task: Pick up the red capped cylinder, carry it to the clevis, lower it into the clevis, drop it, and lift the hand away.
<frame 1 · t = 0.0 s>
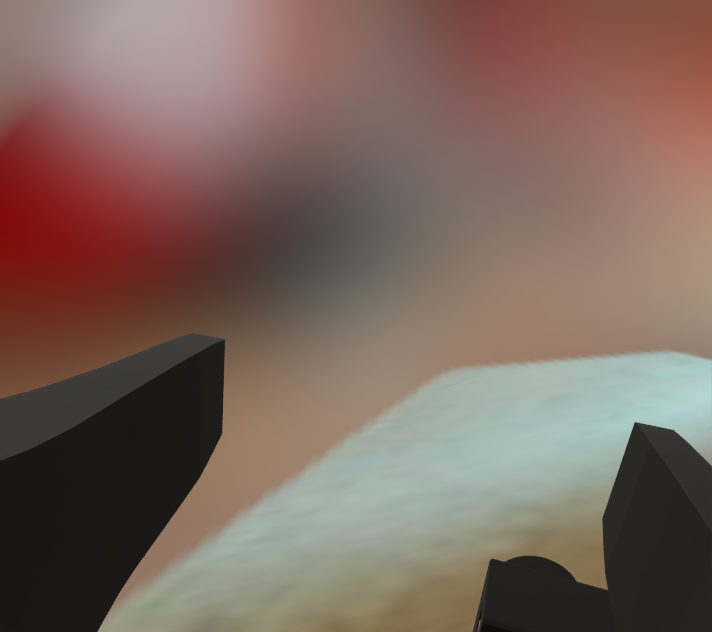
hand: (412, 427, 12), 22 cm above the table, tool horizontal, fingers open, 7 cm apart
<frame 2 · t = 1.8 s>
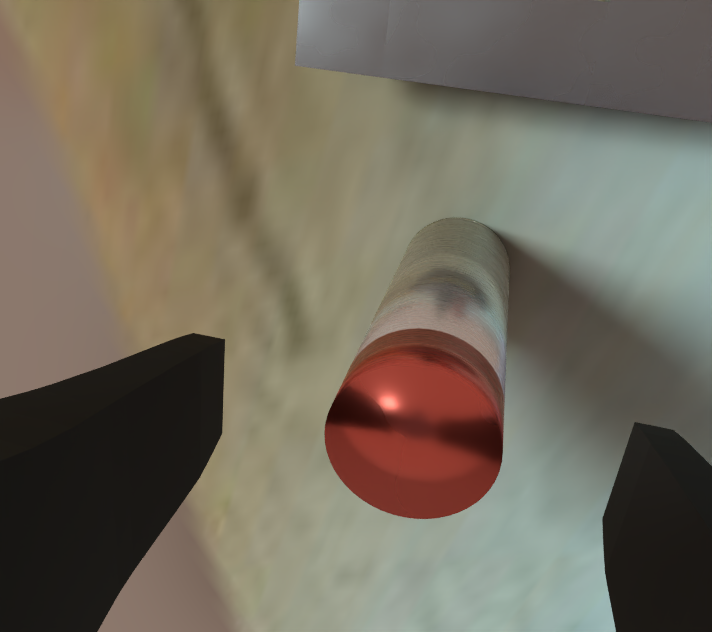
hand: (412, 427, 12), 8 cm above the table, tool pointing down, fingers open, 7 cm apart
red capped cylinder: (455, 268, 19), on the table
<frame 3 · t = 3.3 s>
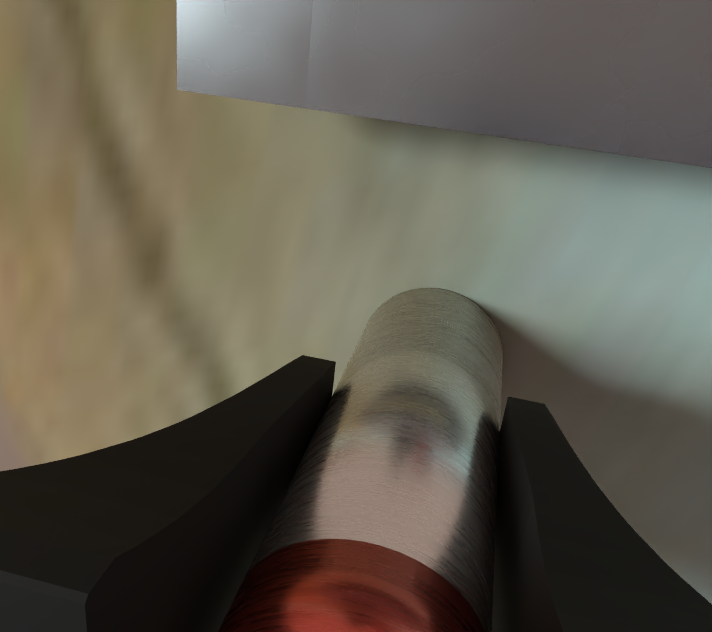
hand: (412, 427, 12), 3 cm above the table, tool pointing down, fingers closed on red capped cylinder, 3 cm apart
red capped cylinder: (431, 353, 15), on the table, touching gripper
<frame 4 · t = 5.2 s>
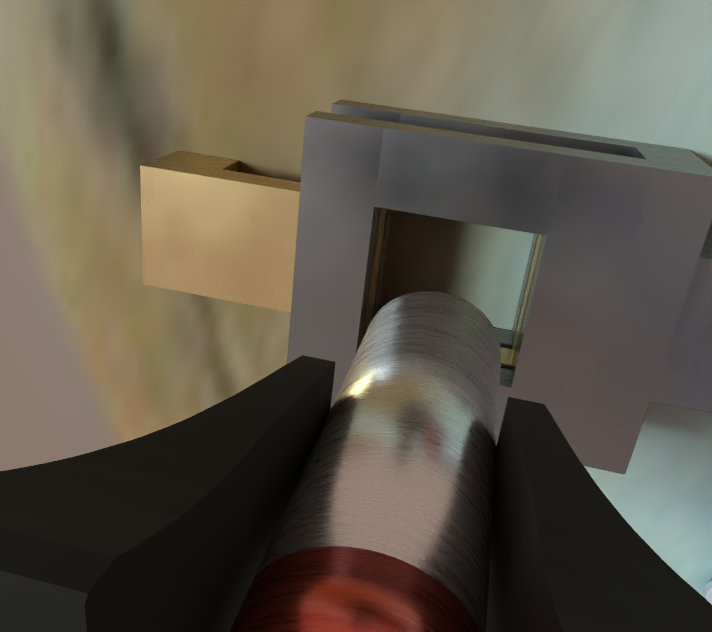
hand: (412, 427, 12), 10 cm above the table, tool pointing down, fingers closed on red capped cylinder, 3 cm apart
red capped cylinder: (431, 353, 15), point 6 cm above the table, touching gripper
clevis: (456, 255, 21), on the table
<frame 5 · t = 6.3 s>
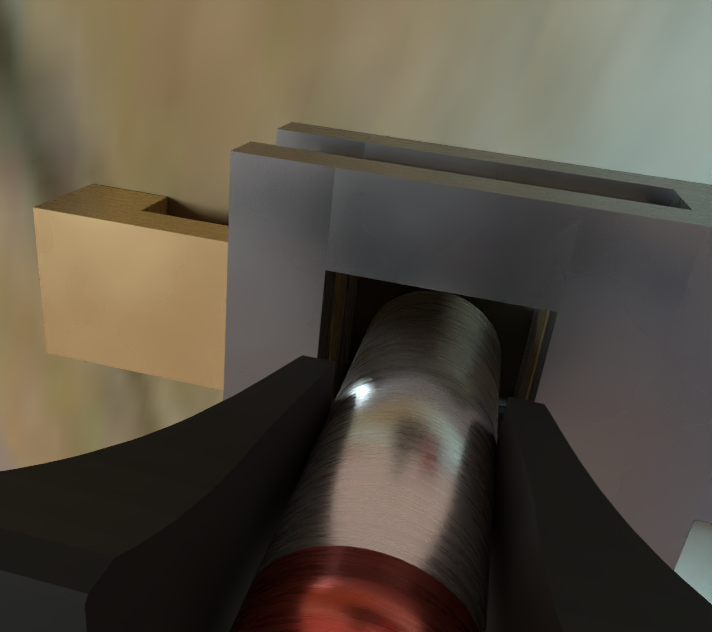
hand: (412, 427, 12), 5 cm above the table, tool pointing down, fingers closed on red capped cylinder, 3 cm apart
red capped cylinder: (431, 353, 15), point 2 cm above the table, touching gripper
clevis: (440, 316, 16), on the table
when the fingers open (5 cm above the table, at t = 6.9 s): red capped cylinder drops 2 cm, resting in clevis.
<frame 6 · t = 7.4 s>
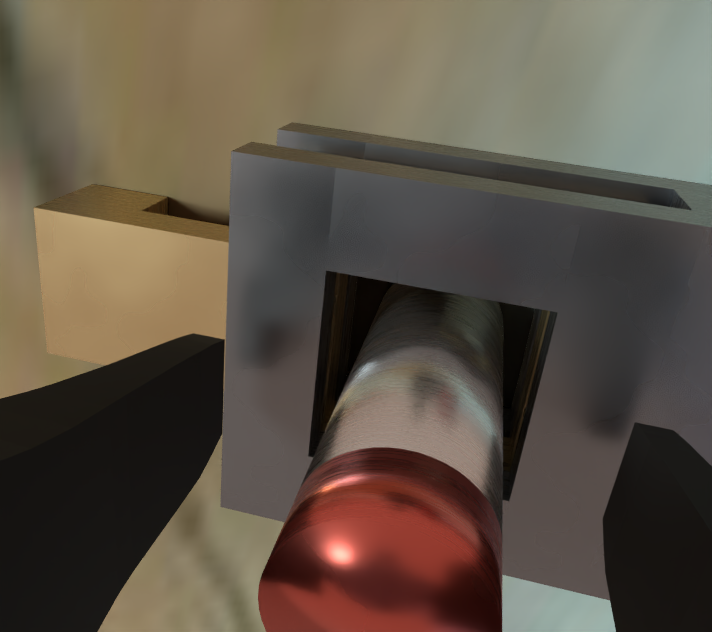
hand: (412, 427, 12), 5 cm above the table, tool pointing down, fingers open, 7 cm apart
red capped cylinder: (439, 324, 16), resting in clevis
clevis: (440, 316, 16), on the table
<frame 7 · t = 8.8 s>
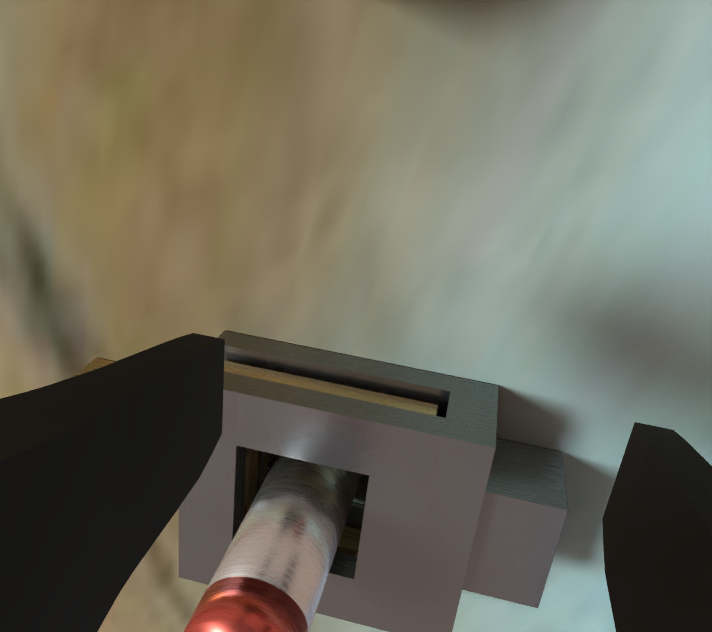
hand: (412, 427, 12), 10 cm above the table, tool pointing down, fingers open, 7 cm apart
red capped cylinder: (325, 453, 25), resting in clevis
clevis: (325, 449, 25), on the table
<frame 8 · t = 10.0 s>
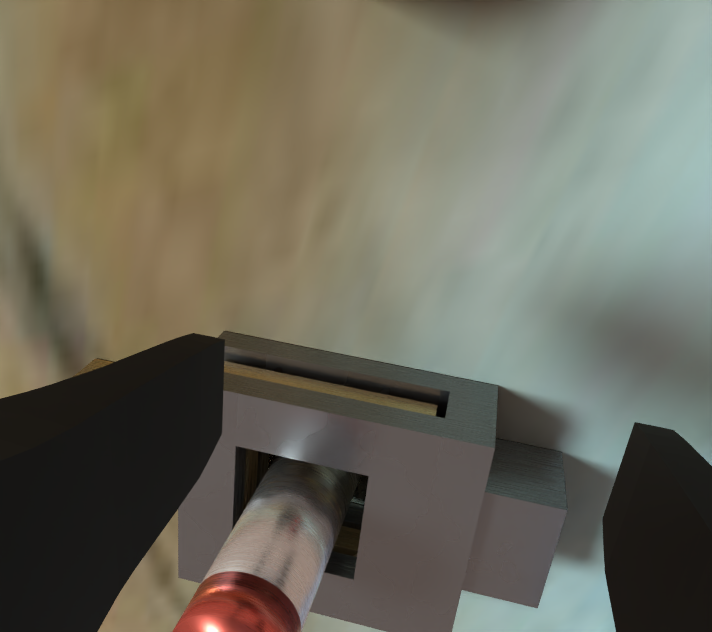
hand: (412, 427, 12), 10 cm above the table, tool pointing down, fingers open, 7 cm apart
red capped cylinder: (324, 454, 25), resting in clevis
clevis: (324, 449, 25), on the table
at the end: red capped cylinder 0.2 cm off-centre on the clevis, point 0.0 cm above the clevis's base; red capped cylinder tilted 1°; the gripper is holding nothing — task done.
